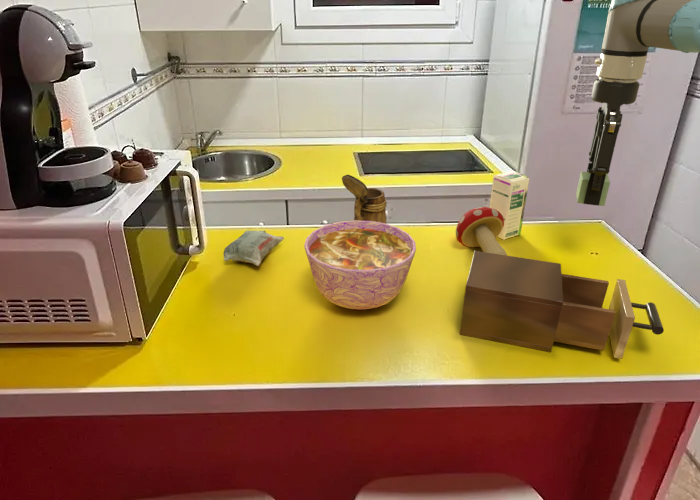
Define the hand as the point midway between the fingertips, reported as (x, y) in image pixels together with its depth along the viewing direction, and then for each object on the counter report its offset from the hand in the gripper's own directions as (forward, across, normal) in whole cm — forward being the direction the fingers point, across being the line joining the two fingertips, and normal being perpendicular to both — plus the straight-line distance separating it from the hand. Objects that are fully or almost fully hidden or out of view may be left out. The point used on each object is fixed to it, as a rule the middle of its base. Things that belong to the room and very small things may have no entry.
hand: (590, 198), depth 105 cm
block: (0, 0, 0) cm, 0 cm away
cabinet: (+15, +28, -13) cm, 34 cm away
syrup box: (+14, -9, -16) cm, 23 cm away
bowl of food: (+15, +29, -40) cm, 51 cm away
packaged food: (+14, +21, -66) cm, 70 cm away
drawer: (+14, +28, +1) cm, 31 cm away
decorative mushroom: (+15, +4, -20) cm, 25 cm away
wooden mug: (+14, +6, -46) cm, 48 cm away
